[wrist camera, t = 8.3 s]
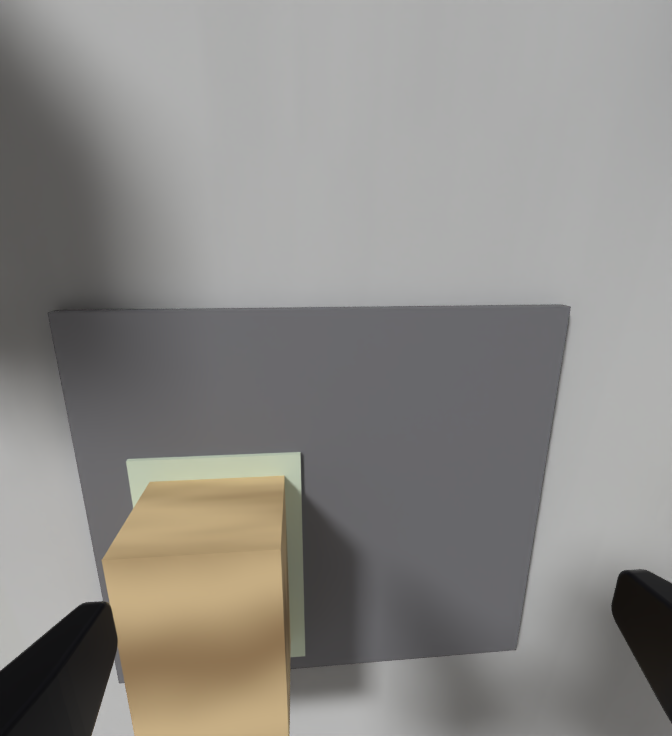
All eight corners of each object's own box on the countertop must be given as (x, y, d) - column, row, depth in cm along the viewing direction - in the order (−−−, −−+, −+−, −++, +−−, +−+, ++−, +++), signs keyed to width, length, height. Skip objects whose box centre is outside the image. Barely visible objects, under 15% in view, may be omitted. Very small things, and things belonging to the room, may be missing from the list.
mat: (561, 304, 18) (573, 307, 17) (510, 639, 23) (517, 653, 22) (56, 310, 16) (44, 313, 15) (123, 671, 21) (117, 687, 20)
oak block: (290, 640, 20) (289, 747, 16) (173, 650, 20) (139, 762, 16) (284, 475, 18) (280, 549, 14) (149, 481, 17) (101, 560, 13)
